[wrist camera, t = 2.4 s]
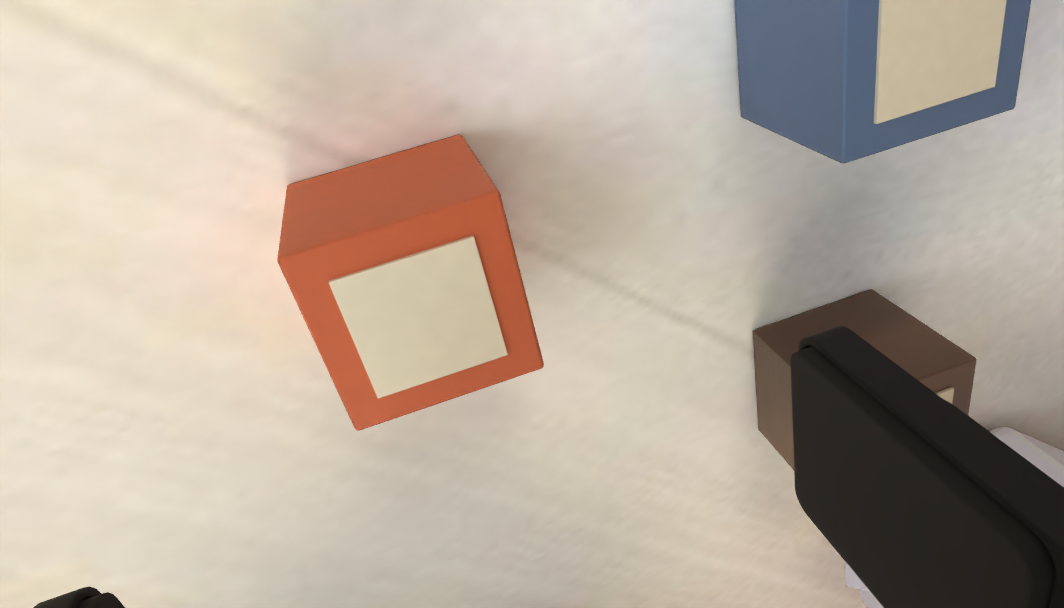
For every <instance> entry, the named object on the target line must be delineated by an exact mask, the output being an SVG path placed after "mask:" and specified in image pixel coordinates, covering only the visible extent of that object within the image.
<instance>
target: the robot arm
mask: <svg viewBox="0 0 1064 608" xmlns="http://www.w3.org/2000/svg"><path fill="white" fill-rule="evenodd" d="M790 366H791V393H792V419H793V446H794V472H795V490H796V494H797V498H798V500H799V502H800V505H801V506H802V508H803V510H804V511H805V513H806V514H807V515H808V517H809V518H810V519H811V520H812V521H813V523H814V524H815V525H816V526H817V528H818V529H819V530H820V531H821V532H822V534H823V535H824V536H825V537H826V538H827V540H828V541H829V542H830V543H831V545H832V546H833V547H834V548H835V549H836V551H837V552H838V553H839V554H840V555H841V557H842V558H843V559H844V560H845V561H846V563H847V564H848V565H849V566H850V568H851V569H852V570H853V571H854V572H855V574H856V575H857V576H858V577H859V578H860V580H861V581H862V582H863V583H864V585H865V586H866V587H867V588H868V589H869V591H870V592H871V593H872V594H873V595H874V597H875V598H876V599H877V600H878V601H879V603H880V604H881V605H882V606H883V608H1064V487H1063V486H1061V485H1060V484H1059V483H1057V482H1056V481H1055V480H1053V479H1052V478H1051V477H1049V476H1048V475H1047V474H1045V473H1044V472H1043V471H1041V470H1040V469H1039V468H1037V467H1036V466H1035V465H1033V464H1032V463H1031V462H1029V461H1028V460H1027V459H1025V458H1024V457H1023V456H1021V455H1020V454H1019V453H1017V452H1016V451H1015V450H1013V449H1012V448H1010V447H1009V446H1008V445H1006V444H1005V443H1004V442H1002V441H1001V440H1000V439H998V438H997V437H996V436H994V435H993V434H992V433H990V432H989V431H988V430H986V429H985V428H984V427H982V426H981V425H980V424H978V423H977V422H976V421H974V420H973V419H972V418H970V417H969V416H968V415H966V414H965V413H964V412H962V411H961V410H960V409H958V408H957V407H956V406H954V405H953V404H951V403H950V402H948V401H946V400H944V399H943V398H941V397H940V396H938V395H937V394H936V393H934V392H933V391H932V390H930V389H929V388H928V387H926V386H925V385H924V384H922V383H921V382H920V381H918V380H917V379H916V378H914V377H913V376H912V375H910V374H909V373H908V372H906V371H905V370H904V369H903V368H901V367H900V366H899V365H897V364H896V363H895V362H893V361H892V360H891V359H889V358H888V357H887V356H885V355H884V354H883V353H881V352H880V351H879V350H877V349H876V348H875V347H873V346H872V345H871V344H869V343H868V342H867V341H865V340H864V339H863V338H861V337H860V336H859V335H857V334H856V333H855V332H853V331H852V330H851V329H849V328H847V327H845V326H838V327H835V328H832V329H829V330H826V331H823V332H820V333H817V334H815V335H812V336H809V337H806V338H804V339H802V340H801V342H800V344H799V351H798V352H795V353H793V354H792V356H791V360H790ZM34 608H125V607H124V606H123V605H122V603H121V602H120V601H119V600H118V599H117V597H115V596H114V595H113V594H111V593H103V594H101V593H100V592H99V591H98V590H97V589H95V588H92V587H85V588H82V589H79V590H76V591H73V592H70V593H67V594H64V595H61V596H58V597H56V598H53V599H50V600H47V601H44V602H41V603H39V604H37V605H36V606H35V607H34Z"/></svg>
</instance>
